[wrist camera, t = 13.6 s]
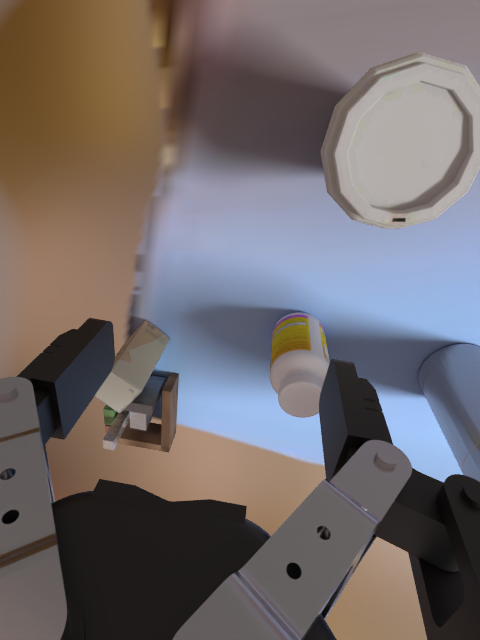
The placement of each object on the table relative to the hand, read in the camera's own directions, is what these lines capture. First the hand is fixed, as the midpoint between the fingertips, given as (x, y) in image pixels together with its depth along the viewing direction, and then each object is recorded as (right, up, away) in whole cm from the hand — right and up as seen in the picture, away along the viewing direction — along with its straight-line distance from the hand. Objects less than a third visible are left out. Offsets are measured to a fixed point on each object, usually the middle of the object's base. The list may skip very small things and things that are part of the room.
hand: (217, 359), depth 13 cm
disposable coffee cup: (+13, +19, +22) cm, 32 cm away
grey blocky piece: (-13, -10, +41) cm, 44 cm away
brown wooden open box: (-13, -11, +42) cm, 46 cm away
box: (-12, -1, +37) cm, 39 cm away
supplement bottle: (+8, 0, +34) cm, 35 cm away
